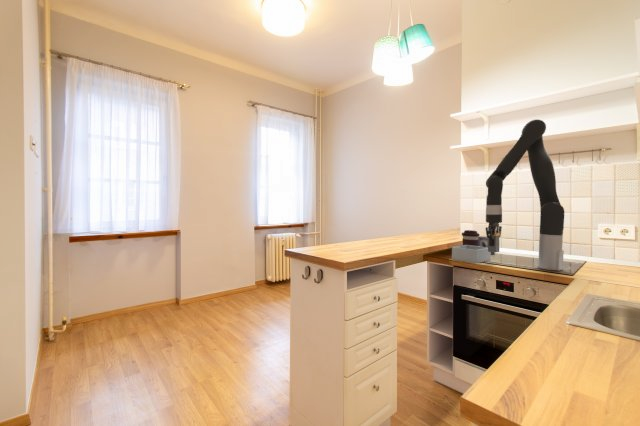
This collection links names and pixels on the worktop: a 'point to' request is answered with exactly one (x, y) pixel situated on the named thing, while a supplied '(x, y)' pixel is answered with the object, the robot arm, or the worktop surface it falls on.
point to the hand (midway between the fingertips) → (493, 245)
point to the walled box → (471, 253)
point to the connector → (496, 244)
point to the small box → (484, 243)
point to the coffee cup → (470, 237)
